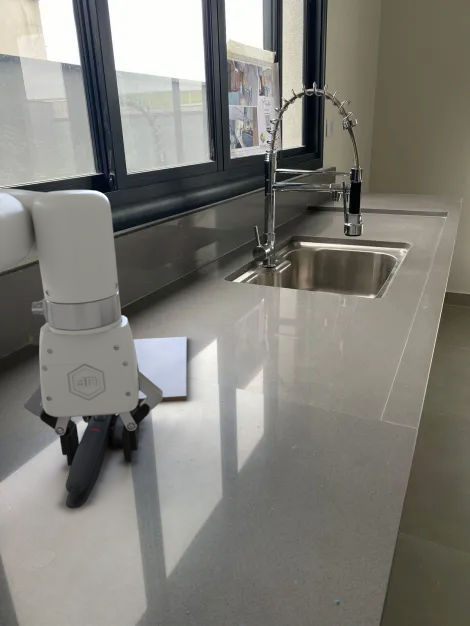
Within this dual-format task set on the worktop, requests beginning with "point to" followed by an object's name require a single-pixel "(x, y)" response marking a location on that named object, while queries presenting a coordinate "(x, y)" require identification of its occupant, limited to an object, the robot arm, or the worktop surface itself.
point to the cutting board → (164, 365)
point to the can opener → (92, 455)
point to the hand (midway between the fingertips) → (101, 455)
